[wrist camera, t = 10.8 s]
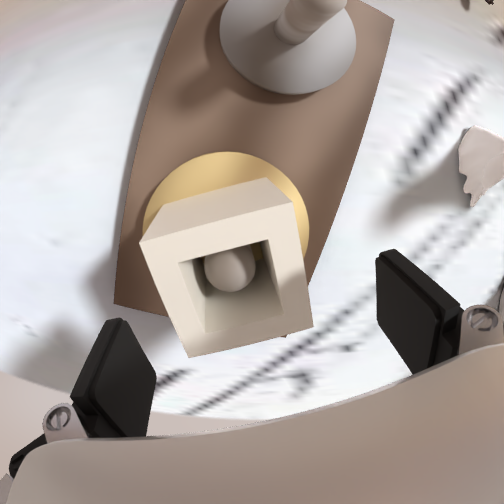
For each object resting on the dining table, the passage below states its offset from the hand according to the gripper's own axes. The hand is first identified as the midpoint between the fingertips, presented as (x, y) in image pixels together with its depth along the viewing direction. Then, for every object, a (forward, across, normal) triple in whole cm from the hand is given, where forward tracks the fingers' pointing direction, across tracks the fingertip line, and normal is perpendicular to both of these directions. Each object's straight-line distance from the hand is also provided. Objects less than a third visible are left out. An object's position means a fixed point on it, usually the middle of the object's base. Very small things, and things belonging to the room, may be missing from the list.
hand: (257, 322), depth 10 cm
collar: (+8, +1, 0) cm, 8 cm away
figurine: (+11, -21, -1) cm, 24 cm away
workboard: (+10, -2, -5) cm, 12 cm away
